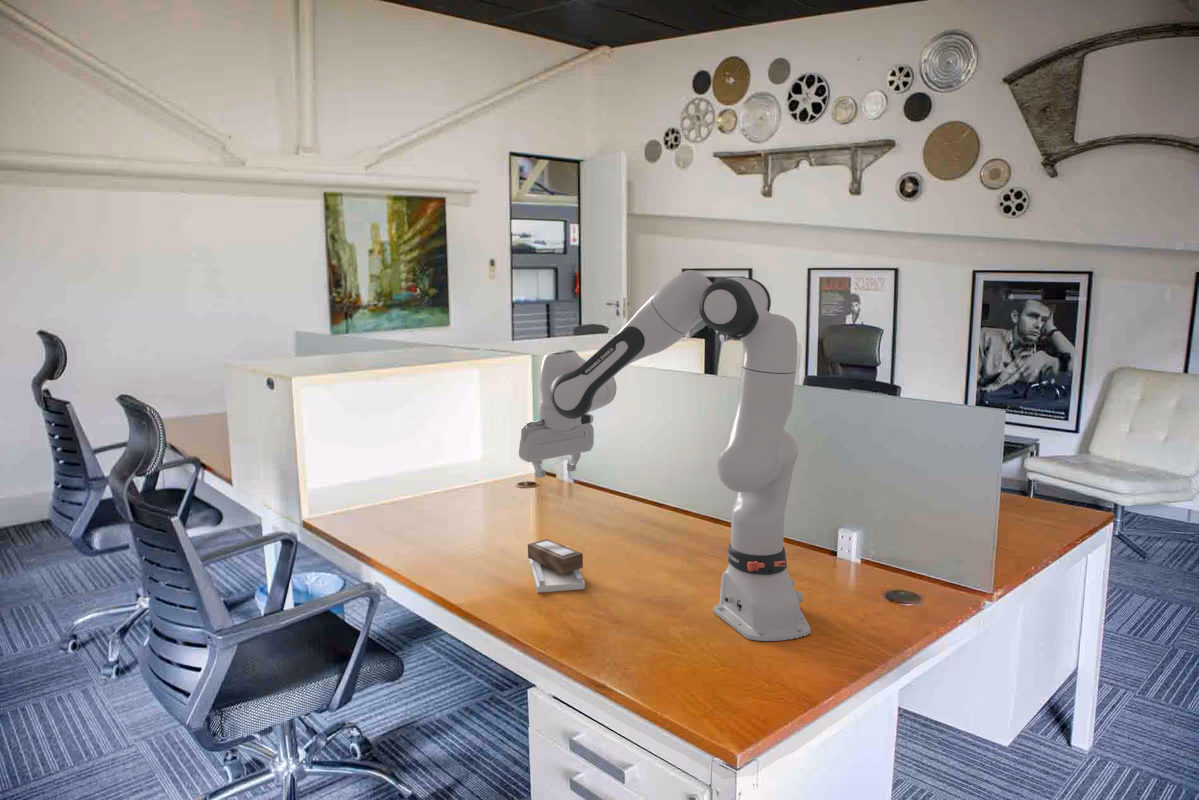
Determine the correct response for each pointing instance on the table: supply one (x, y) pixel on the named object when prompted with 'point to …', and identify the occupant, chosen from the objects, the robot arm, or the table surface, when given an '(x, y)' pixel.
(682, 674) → the table surface
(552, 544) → the picture frame
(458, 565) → the table surface
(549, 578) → the picture ledge
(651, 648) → the table surface
